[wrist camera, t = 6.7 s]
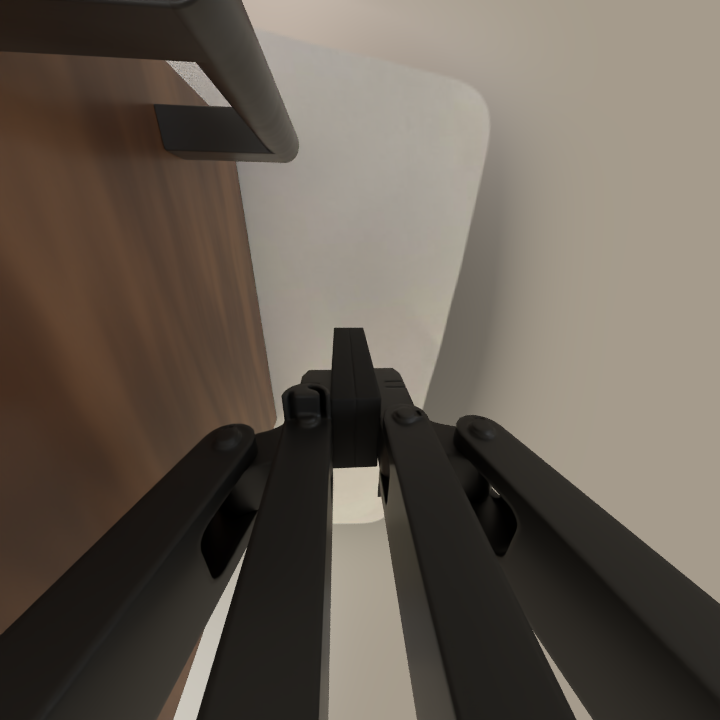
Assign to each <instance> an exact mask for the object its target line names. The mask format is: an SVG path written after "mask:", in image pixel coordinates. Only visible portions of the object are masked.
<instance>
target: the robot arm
mask: <svg viewBox="0 0 720 720" xmlns="http://www.w3.org/2000/svg"><path fill="white" fill-rule="evenodd" d="M282 403H283V411H284V419H285V421H284V424H283V425H281V426H279V427H277V428H275V429H272V430H269V431H265V432H261V433H257V434H255V432H254V429H253V428H252V427H251V426H249V425H246V424H242V423H239V424H229V425H225V426H221V427H219V428H217V429H215V430H213V431H211V432H210V433H209V434H207V435H206V436H205V437H204V438H203V439H202V440H201V441H200V442H199V443H198V444H197V445H195V446H194V447H193V448H192V449H191V450H190V451H189V452H188V453H187V454H186V455H185V456H184V457H183V458H182V459H181V460H180V461H179V462H178V463H177V464H176V465H175V466H174V467H173V468H172V469H171V470H170V471H169V472H168V473H167V474H166V475H165V476H164V477H163V478H162V479H161V480H159V481H158V482H157V483H156V484H155V485H154V486H153V487H152V488H151V489H150V490H149V491H148V492H147V493H146V494H145V495H144V496H143V497H142V498H141V499H140V500H139V501H138V502H137V503H136V504H135V505H134V506H133V507H132V508H131V509H130V510H129V511H128V512H127V513H126V514H125V515H123V516H122V517H121V518H120V519H119V520H118V521H117V522H116V523H115V524H114V525H113V526H112V527H111V528H110V529H109V530H108V531H107V532H106V533H105V534H104V535H103V536H102V537H101V538H100V539H99V540H98V541H97V542H96V543H95V544H94V545H93V546H92V547H91V548H90V549H89V550H87V551H86V552H85V553H84V554H83V555H82V556H81V557H80V558H79V559H78V560H77V561H76V562H75V563H74V564H73V565H72V566H71V567H70V568H69V569H68V570H67V571H66V572H65V573H64V574H63V575H62V576H61V577H60V578H59V579H58V580H57V581H56V582H55V583H54V584H53V585H51V586H50V587H49V588H48V589H47V590H46V591H45V592H44V593H43V594H42V595H41V596H40V597H39V598H38V599H37V600H36V601H35V602H34V603H33V604H32V605H31V606H30V607H29V608H28V609H27V610H26V611H25V612H24V613H23V614H22V615H21V616H20V617H19V618H18V619H17V620H15V621H14V622H13V623H12V624H11V625H10V626H9V627H8V628H7V629H6V630H5V631H4V632H3V633H2V634H1V635H0V720H157V718H158V716H159V714H160V712H161V711H162V709H163V707H164V705H165V703H166V701H167V699H168V697H169V695H170V693H171V691H172V689H173V688H174V686H175V684H176V682H177V680H178V678H179V676H180V674H181V672H182V670H183V668H184V666H185V665H186V663H187V661H188V659H189V657H190V655H191V653H192V651H193V649H194V647H195V645H196V643H197V642H198V640H199V638H200V636H201V634H202V632H203V630H204V628H205V626H206V624H207V622H208V621H209V619H210V617H211V615H212V613H213V611H214V609H215V607H216V605H217V603H218V601H219V599H220V598H221V596H222V594H223V592H224V590H225V588H226V586H227V584H228V582H229V580H230V578H231V576H232V574H233V573H234V571H235V569H236V567H237V565H238V563H239V561H240V559H241V557H242V555H243V553H244V551H245V549H246V548H247V550H246V553H245V556H244V560H243V563H242V567H241V570H240V573H239V577H238V580H237V584H236V587H235V590H234V594H233V597H232V601H231V604H230V607H229V611H228V614H227V618H226V621H225V624H224V628H223V631H222V634H221V638H220V642H219V645H218V648H217V651H216V655H215V659H214V662H213V665H212V668H211V672H210V675H209V679H208V682H207V685H206V689H205V692H204V696H203V699H202V702H201V706H200V709H199V713H198V716H197V719H196V720H328V700H329V654H330V608H331V561H332V515H333V468H352V467H375V466H377V460H378V461H379V467H380V471H379V485H378V497H382V503H383V509H384V516H385V522H386V528H387V534H388V541H389V547H390V553H391V559H392V566H393V572H394V578H395V584H396V590H397V596H398V603H399V609H400V615H401V622H402V628H403V634H404V640H405V647H406V653H407V659H408V666H409V671H410V678H411V684H412V690H413V697H414V703H415V709H416V715H417V720H576V718H575V716H574V714H573V712H572V710H571V708H570V706H569V704H568V702H567V700H566V698H565V696H564V694H563V691H562V689H561V687H560V685H559V683H558V681H557V679H556V677H555V675H554V673H553V671H552V669H551V667H550V665H549V663H548V661H547V659H546V657H545V655H544V653H543V651H542V649H541V647H540V645H539V642H538V641H537V638H536V636H535V634H536V635H537V637H538V638H539V640H540V641H541V643H542V645H543V646H544V647H545V649H546V650H547V652H548V653H549V655H550V656H551V658H552V659H553V661H554V662H555V664H556V665H557V667H558V668H559V670H560V671H561V673H562V674H563V676H564V677H565V679H566V680H567V682H568V683H569V685H570V686H571V688H572V689H573V691H574V692H575V694H576V695H577V696H578V698H579V700H580V701H581V703H582V704H583V706H584V707H585V708H586V710H587V711H588V713H589V714H590V716H591V717H592V719H593V720H720V604H719V603H718V602H717V601H716V600H714V599H713V598H712V597H711V596H709V595H708V594H707V593H706V592H705V591H703V590H702V589H701V588H700V587H698V586H697V585H696V584H695V583H693V582H692V581H691V580H690V579H689V578H687V577H686V576H685V575H684V574H682V573H681V572H680V571H679V570H677V569H676V568H675V567H674V566H673V565H671V564H670V563H669V562H668V561H666V560H665V559H664V558H663V557H662V556H660V555H659V554H658V553H657V552H655V551H654V550H653V549H651V548H650V547H649V546H648V545H647V544H646V543H644V542H643V541H642V540H641V539H639V538H638V537H637V536H636V535H634V534H633V533H632V532H631V531H629V530H628V529H627V528H626V527H625V526H623V525H622V524H621V523H620V522H619V521H617V520H616V519H615V518H614V517H612V516H611V515H610V514H608V513H607V512H606V511H605V510H604V509H603V508H601V507H600V506H599V505H598V504H596V503H595V502H594V501H593V500H591V499H590V498H589V497H588V496H586V495H585V494H584V493H583V492H582V491H580V490H579V489H578V488H577V487H576V486H574V485H573V484H572V483H571V482H569V481H568V480H567V479H566V478H564V477H563V476H562V475H561V474H560V473H558V472H557V471H556V470H555V469H553V468H552V467H551V466H550V465H548V464H547V463H546V462H544V460H542V459H541V458H540V457H539V456H537V455H536V454H535V453H534V452H533V451H531V450H530V449H529V448H528V447H526V446H525V445H524V444H523V443H521V442H520V441H519V440H518V439H517V438H515V437H514V436H513V435H512V434H510V433H509V432H508V431H507V430H505V429H504V428H503V427H502V426H501V425H499V424H497V423H496V422H494V421H492V420H490V419H488V418H485V417H481V416H476V415H467V416H464V417H461V418H460V419H459V420H458V421H457V423H456V427H455V426H449V425H444V424H439V423H435V422H432V421H430V420H429V418H428V416H427V415H426V414H425V412H424V411H423V410H421V409H420V408H418V407H416V406H414V404H413V402H412V400H411V397H410V395H409V393H408V391H407V388H405V384H404V382H403V379H402V377H401V375H400V373H398V372H397V371H396V370H394V369H393V368H373V364H372V360H371V356H370V353H369V349H368V345H367V341H366V337H365V334H364V330H363V328H334V338H333V356H332V370H309V371H308V372H307V373H306V374H304V375H303V376H302V380H301V384H298V385H295V386H292V387H290V388H289V389H287V390H286V391H285V392H284V393H283V394H282ZM492 487H493V488H494V489H495V490H496V491H497V492H498V493H499V494H500V495H498V494H497V493H496V492H495V491H494V490H493V489H492ZM533 631H534V632H533ZM534 633H535V634H534Z"/></svg>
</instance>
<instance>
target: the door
mask: <svg viewBox="0 0 720 720" xmlns="http://www.w3.org/2000/svg"><path fill="white" fill-rule="evenodd" d="M165 60H168V61H187V62H196V63H197V64H198V65H199V67H200V68H201V69H202V70H203V72H204V73H205V74H206V75H207V77H208V78H209V79H210V80H211V81H212V83H213V84H214V85H215V86H216V88H217V89H218V90H219V91H220V93H221V94H222V95H223V96H224V97H225V99H226V100H227V101H228V102H229V104H230V105H231V106H232V107H218V106H209V105H208V104H207V103H206V102H205V101H204V100H203V99H202V98H201V97H200V96H199V95H198V94H197V93H196V92H195V91H194V90H193V89H192V88H191V87H190V86H189V85H188V84H187V82H186V81H185V80H184V79H183V78H182V77H181V76H180V75H179V74H178V73H177V72H176V71H175V70H174V69H173V68H172V67H171V66H170V65H169V64H168V63H167V62H166V61H165ZM298 149H299V141H298V137H297V135H296V132H295V130H294V127H293V125H292V122H291V120H290V117H289V115H288V113H287V110H286V108H285V105H284V103H283V100H282V98H281V95H280V93H279V91H278V88H277V86H276V83H275V81H274V78H273V76H272V73H271V71H270V69H269V66H268V64H267V61H266V59H265V56H264V54H263V51H262V49H261V47H260V44H259V42H258V39H257V37H256V34H255V32H254V29H253V27H252V25H251V22H250V20H249V17H248V15H247V12H246V10H245V8H244V5H243V3H242V0H0V635H1V634H2V633H3V632H4V631H5V630H6V629H7V628H8V627H9V626H10V625H11V624H12V623H13V622H14V621H15V620H17V619H18V618H19V617H20V616H21V615H22V614H23V613H24V612H25V611H26V610H27V609H28V608H29V607H30V606H31V605H32V604H33V603H34V602H35V601H36V600H37V599H38V598H39V597H40V596H41V595H42V594H43V593H44V592H45V591H46V590H47V589H48V588H49V587H50V586H51V585H53V584H54V583H55V582H56V581H57V580H58V579H59V578H60V577H61V576H62V575H63V574H64V573H65V572H66V571H67V570H68V569H69V568H70V567H71V566H72V565H73V564H74V563H75V562H76V561H77V560H78V559H79V558H80V557H81V556H82V555H83V554H84V553H85V552H86V551H87V550H89V549H90V548H91V547H92V546H93V545H94V544H95V543H96V542H97V541H98V540H99V539H100V538H101V537H102V536H103V535H104V534H105V533H106V532H107V531H108V530H109V529H110V528H111V527H112V526H113V525H114V524H115V523H116V522H117V521H118V520H119V519H120V518H121V517H122V516H123V515H125V514H126V513H127V512H128V511H129V510H130V509H131V508H132V507H133V506H134V505H135V504H136V503H137V502H138V501H139V500H140V499H141V498H142V497H143V496H144V495H145V494H146V493H147V492H148V491H149V490H150V489H151V488H152V487H153V486H154V485H155V484H156V483H157V482H158V481H159V480H161V479H162V478H163V477H164V476H165V475H166V474H167V473H168V472H169V471H170V470H171V469H172V468H173V467H174V466H175V465H176V464H177V463H178V462H179V461H180V460H181V459H182V458H183V457H184V456H185V455H186V454H187V453H188V452H189V451H190V450H191V449H192V448H193V447H194V446H195V445H197V444H198V443H199V442H200V441H201V440H202V439H203V438H204V437H205V436H206V435H207V434H209V433H210V432H211V431H213V430H215V429H217V428H219V427H221V426H225V425H229V424H239V423H242V424H246V425H249V426H251V427H252V428H253V429H254V432H255V434H257V433H261V432H265V431H269V430H272V429H273V428H274V425H275V423H276V420H277V419H276V412H275V406H274V400H273V393H272V387H271V381H270V375H269V368H268V362H267V356H266V350H265V343H264V337H263V331H262V324H261V318H260V312H259V306H258V299H257V293H256V287H255V280H254V274H253V268H252V262H251V255H250V249H249V243H248V236H247V230H246V224H245V218H244V211H243V205H242V199H241V193H240V186H239V180H238V174H237V167H236V161H244V162H278V163H287V162H290V161H292V160H293V159H294V158H295V157H296V155H297V153H298ZM204 629H205V628H204ZM203 631H204V630H203ZM202 634H203V632H202ZM202 634H201V636H200V638H199V640H198V642H197V643H196V645H195V647H194V649H193V651H192V653H191V655H190V657H189V659H188V661H187V663H186V665H185V666H184V668H183V670H182V672H181V674H180V676H179V678H178V680H177V682H176V684H175V686H174V688H173V689H172V691H171V693H170V695H169V697H168V699H167V701H166V703H165V705H164V707H163V709H162V711H161V712H160V714H159V716H158V718H157V720H173V718H174V716H175V713H176V710H177V707H178V704H179V701H180V698H181V695H182V692H183V690H184V687H185V684H186V681H187V678H188V675H189V672H190V669H191V666H192V663H193V660H194V658H195V655H196V651H197V649H198V646H199V643H200V640H201V637H202Z"/></svg>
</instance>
